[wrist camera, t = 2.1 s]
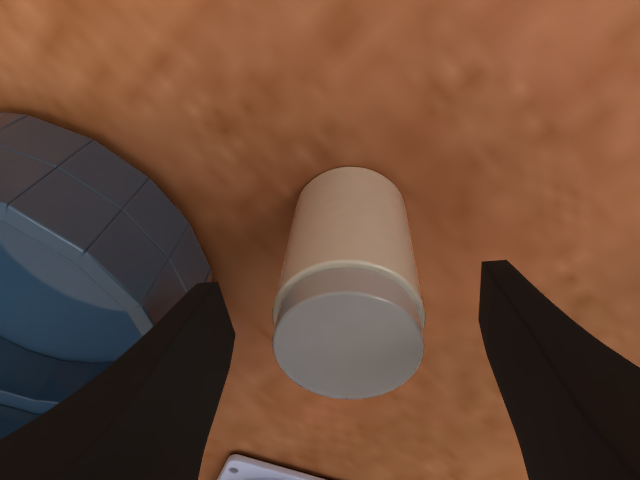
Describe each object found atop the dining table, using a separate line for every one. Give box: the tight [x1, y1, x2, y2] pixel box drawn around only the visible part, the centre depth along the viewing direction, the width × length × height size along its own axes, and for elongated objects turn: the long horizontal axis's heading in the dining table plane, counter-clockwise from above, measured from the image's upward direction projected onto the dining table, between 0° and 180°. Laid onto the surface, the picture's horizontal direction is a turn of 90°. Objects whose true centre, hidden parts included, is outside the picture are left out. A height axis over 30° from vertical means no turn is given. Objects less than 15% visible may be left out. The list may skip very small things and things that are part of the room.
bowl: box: [0, 112, 213, 439], centre depth 17 cm, size 13×13×5 cm
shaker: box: [272, 167, 425, 399], centre depth 14 cm, size 4×4×6 cm
